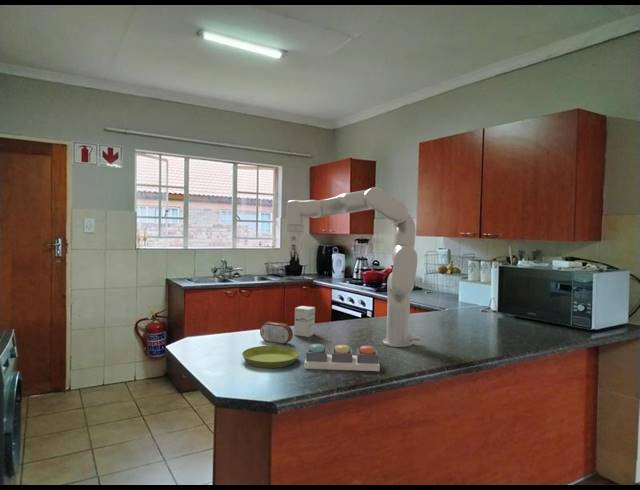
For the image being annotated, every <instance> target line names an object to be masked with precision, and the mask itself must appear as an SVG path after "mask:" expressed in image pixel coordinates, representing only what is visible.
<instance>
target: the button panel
mask: <svg viewBox="0 0 640 490" xmlns="http://www.w3.org/2000/svg"><path fill="white" fill-rule="evenodd" d="M303 365H304V368H303V369H308V370H310V369H311V370H313V369H314V370H334V371H335V370H336V371H337V370H339V371H340V370H341V371H364V372H365V371H366V372H367V371H368V372H369V371H370V372H380V370H381V369H380V368H381V365H380V361H379V353H378V349H376V348H374V354H360V348H356V354H355V355H353V348H349V354H348V353H335V347H332V348H331V354H328V347H324V353H318V352H310V346H308V347H307V348H306V355H305V360H304V364H303Z"/></svg>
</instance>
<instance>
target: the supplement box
mask: <svg viewBox="0 0 640 490" xmlns="http://www.w3.org/2000/svg"><path fill="white" fill-rule="evenodd" d="M315 319H316V307H315V306H306V305H300V306H297V307H295V308H294V326H293V327H294V328H293V329H294V330H293V332H294V333H293V336H298V337H306V338H309V337H311V336H313V335H314V334H315V321H316V320H315Z"/></svg>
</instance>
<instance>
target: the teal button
mask: <svg viewBox="0 0 640 490" xmlns="http://www.w3.org/2000/svg"><path fill="white" fill-rule="evenodd" d="M309 347H310V352H318V353H324V348H325V345H324V344H321V343H313V344H310V346H309Z"/></svg>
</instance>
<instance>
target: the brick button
mask: <svg viewBox="0 0 640 490" xmlns="http://www.w3.org/2000/svg"><path fill="white" fill-rule="evenodd" d="M359 349H360V354H374V349H375V346H373V345H372V346H371V345H361V346H360V347H359Z"/></svg>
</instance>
